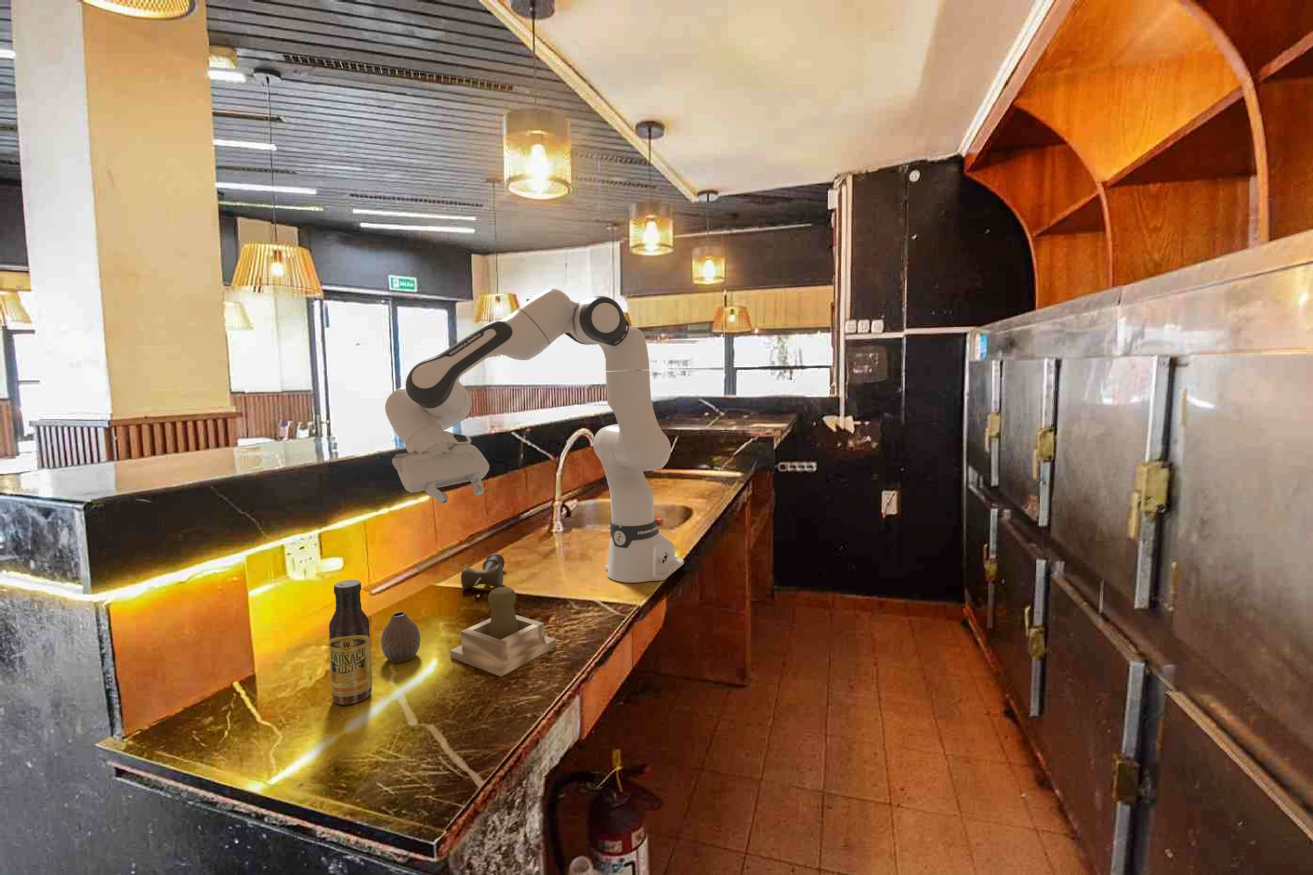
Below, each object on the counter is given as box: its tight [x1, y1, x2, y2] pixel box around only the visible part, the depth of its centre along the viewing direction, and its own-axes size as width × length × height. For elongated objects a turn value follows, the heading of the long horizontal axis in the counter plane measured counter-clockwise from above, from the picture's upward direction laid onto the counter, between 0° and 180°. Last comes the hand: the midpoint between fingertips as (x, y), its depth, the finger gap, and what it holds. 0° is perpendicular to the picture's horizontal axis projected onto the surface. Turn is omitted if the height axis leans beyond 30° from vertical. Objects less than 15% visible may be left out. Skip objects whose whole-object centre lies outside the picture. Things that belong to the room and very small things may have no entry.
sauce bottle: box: [328, 579, 373, 706], centre depth 104 cm, size 6×6×20 cm
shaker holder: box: [449, 614, 557, 678], centre depth 120 cm, size 14×14×5 cm
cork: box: [487, 586, 519, 640], centre depth 120 cm, size 6×6×11 cm
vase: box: [380, 611, 421, 664], centre depth 119 cm, size 7×7×9 cm
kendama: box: [460, 553, 505, 590], centre depth 160 cm, size 6×10×20 cm
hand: (463, 497), depth 134 cm, fingers open, 8 cm apart
